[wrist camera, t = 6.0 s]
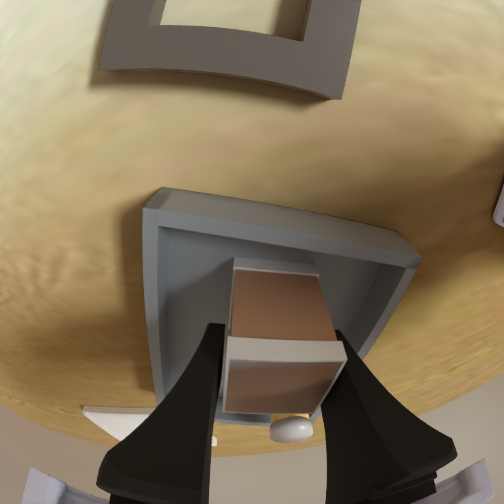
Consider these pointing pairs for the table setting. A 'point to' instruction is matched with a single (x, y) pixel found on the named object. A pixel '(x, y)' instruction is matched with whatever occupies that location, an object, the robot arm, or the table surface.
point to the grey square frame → (236, 47)
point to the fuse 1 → (279, 340)
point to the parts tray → (267, 248)
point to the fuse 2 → (290, 427)
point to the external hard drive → (120, 419)
